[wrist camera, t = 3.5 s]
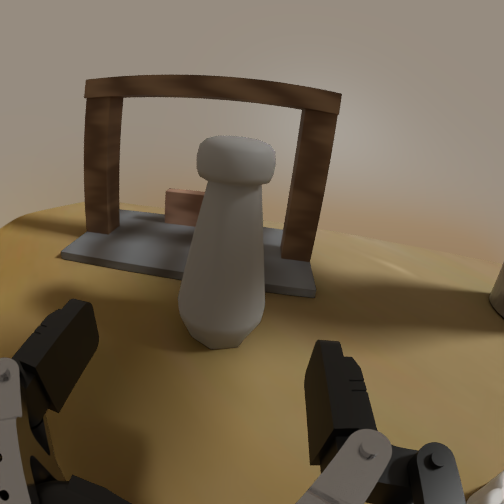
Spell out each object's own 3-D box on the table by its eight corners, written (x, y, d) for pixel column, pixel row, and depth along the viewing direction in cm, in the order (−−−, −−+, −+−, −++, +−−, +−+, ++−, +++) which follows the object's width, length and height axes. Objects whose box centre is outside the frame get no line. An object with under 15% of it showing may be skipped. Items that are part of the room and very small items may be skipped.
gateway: (301, 238, 39) (324, 99, 32) (314, 297, 27) (356, 89, 19) (118, 214, 39) (123, 84, 32) (61, 258, 27) (57, 77, 19)
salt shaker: (163, 320, 21) (166, 131, 16) (226, 298, 25) (244, 134, 20) (209, 371, 18) (228, 143, 12) (276, 338, 21) (313, 148, 16)
